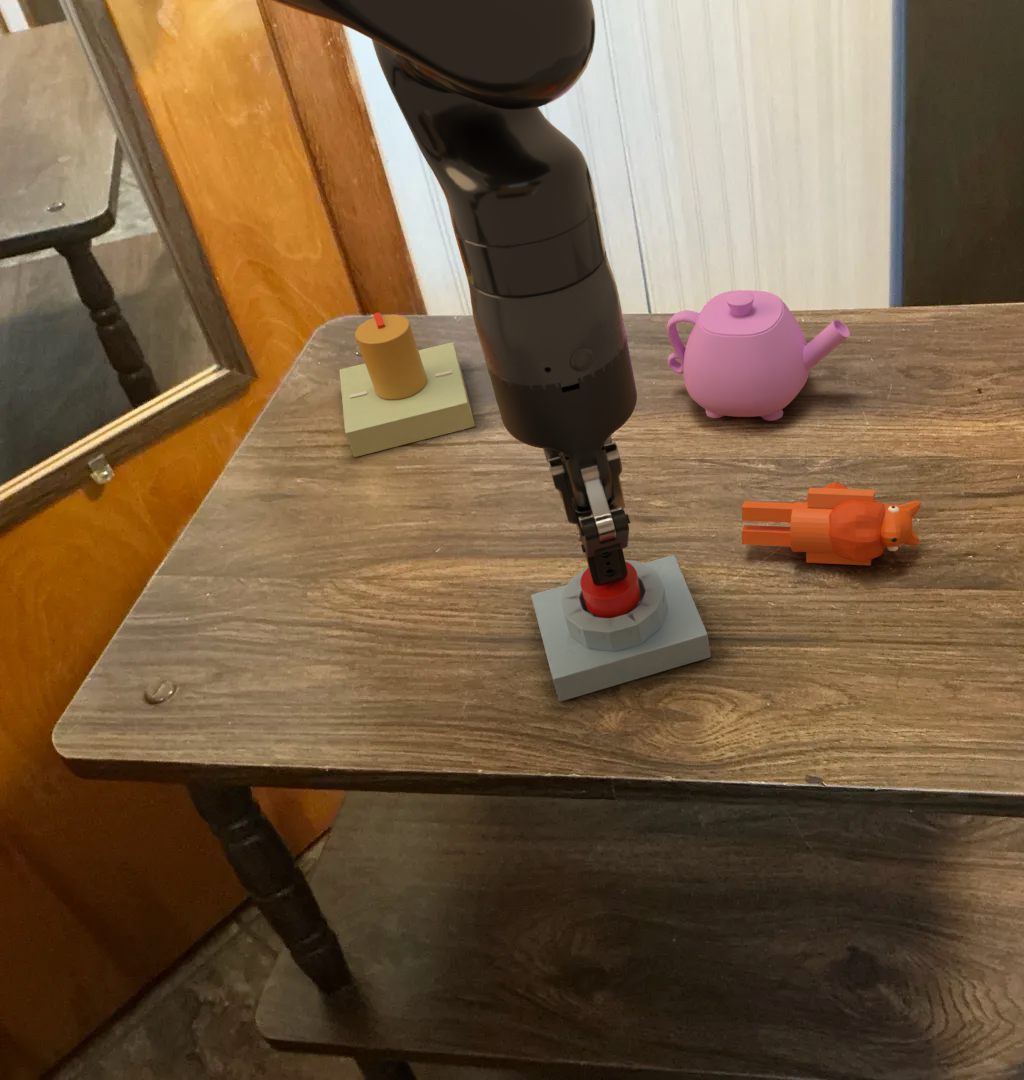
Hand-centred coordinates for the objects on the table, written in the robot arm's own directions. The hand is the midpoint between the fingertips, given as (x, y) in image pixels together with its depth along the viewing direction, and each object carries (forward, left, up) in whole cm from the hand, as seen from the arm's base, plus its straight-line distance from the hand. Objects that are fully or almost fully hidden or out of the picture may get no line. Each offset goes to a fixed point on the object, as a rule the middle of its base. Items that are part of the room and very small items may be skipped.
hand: (609, 575), depth 71 cm
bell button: (0, 0, -2) cm, 2 cm away
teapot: (+17, +22, -6) cm, 28 cm away
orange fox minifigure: (+16, +3, -6) cm, 17 cm away
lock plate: (-11, +33, -6) cm, 35 cm away
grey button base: (0, 0, -6) cm, 6 cm away
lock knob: (-11, +33, -3) cm, 35 cm away
